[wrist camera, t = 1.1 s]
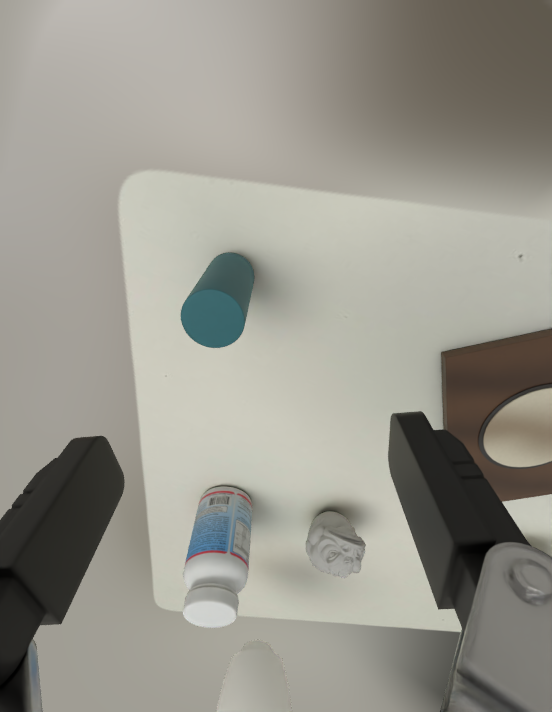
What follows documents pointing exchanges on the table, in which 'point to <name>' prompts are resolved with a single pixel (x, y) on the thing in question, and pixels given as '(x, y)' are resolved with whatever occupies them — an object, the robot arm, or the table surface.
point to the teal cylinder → (219, 302)
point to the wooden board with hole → (503, 410)
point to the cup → (255, 681)
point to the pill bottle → (218, 557)
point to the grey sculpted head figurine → (334, 545)
